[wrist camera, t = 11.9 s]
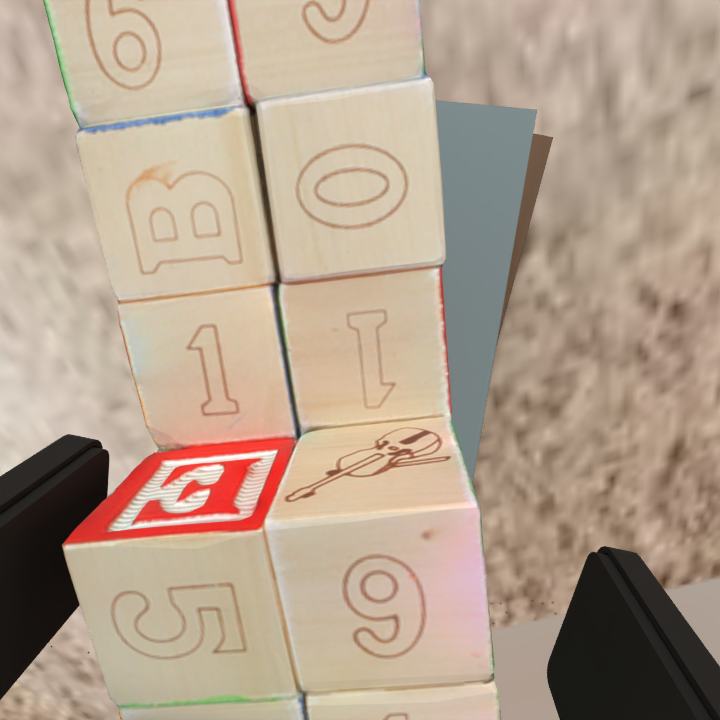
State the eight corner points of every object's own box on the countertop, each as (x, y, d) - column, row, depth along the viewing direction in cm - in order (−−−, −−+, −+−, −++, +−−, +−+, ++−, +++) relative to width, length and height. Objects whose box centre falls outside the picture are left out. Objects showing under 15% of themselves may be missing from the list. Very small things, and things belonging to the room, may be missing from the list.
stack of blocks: (215, 80, 17) (-210, -291, 5) (402, 53, 16) (451, -432, 4) (304, 615, 22) (209, 1073, 10) (447, 607, 21) (526, 1077, 10)
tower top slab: (508, 132, 20) (537, 109, 16) (440, 556, 25) (449, 614, 22) (264, 109, 20) (236, 81, 17) (246, 533, 26) (221, 587, 22)
